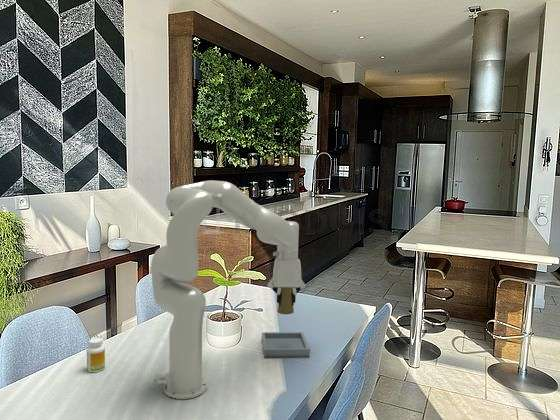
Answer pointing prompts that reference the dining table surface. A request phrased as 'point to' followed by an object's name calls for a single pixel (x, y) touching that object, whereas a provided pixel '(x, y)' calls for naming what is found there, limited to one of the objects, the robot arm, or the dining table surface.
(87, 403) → the dining table surface
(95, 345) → the supplement bottle
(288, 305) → the cork
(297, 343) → the tray
